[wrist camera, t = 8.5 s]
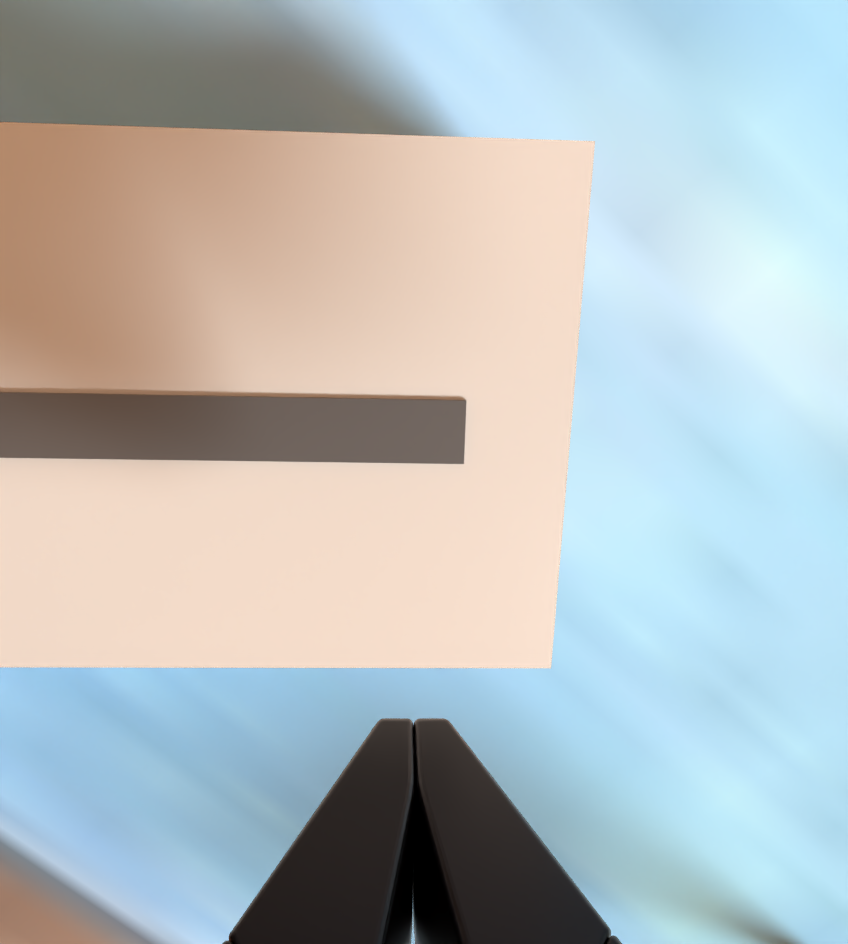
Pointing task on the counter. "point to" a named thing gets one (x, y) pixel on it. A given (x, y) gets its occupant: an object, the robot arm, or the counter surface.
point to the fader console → (285, 396)
